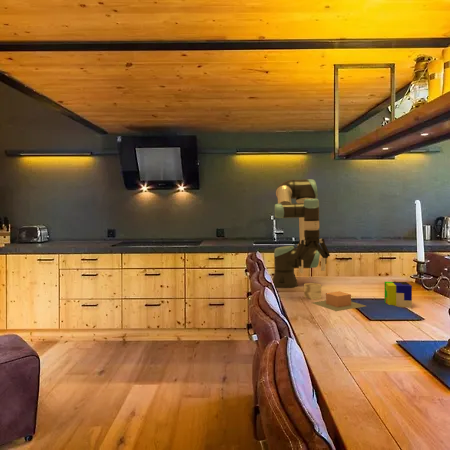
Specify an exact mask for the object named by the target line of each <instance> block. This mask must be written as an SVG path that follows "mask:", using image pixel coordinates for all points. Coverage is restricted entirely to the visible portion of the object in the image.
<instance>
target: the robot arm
mask: <svg viewBox="0 0 450 450" xmlns="http://www.w3.org/2000/svg"><path fill="white" fill-rule="evenodd" d="M275 196H276V198H277V203H276V204H274V217H275V218H276V219H288V218H289V219H290V218H291V219H295V218H297V219H298V221H299V222H298V224H299V226H298V227H299V228H298V230H299V240H298V244H297V245H296V246H297V247H296V248H295V247H294V245H285V246H280V247H279V246H278V247H276V248H274V252H273V253H274V254H273V260H274V265H273V266H274V269H273V270H274V273H273V276H272V280H273V283H274V285H275V286H276V287H275V288H280V287H290V288H296V287H297V286H298V280H297V277H296V275H295V274H296V273H295V269H298V274H299V273H300V274H304V269H313V268H315V269H316V268H318V266H319V263H320V271H323V272H326V269H327V268H326V267H327V259H328V257H330V256H331V255H330V252H329V250H328V248H327V245H326V242H325V238H322V237H321V238H320V236H321V235H320V201H319V198H318V196H319V194H318V186H317V182H316V180H315V179H313V178H312V179H308V178H307V179H288V180H285V181H283V182H281V183H280V184H279V185H278V186H277V188H276V190H275ZM292 199H293V200H295V203H292ZM320 256H321V257H320ZM295 286H296V287H295Z"/></svg>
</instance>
